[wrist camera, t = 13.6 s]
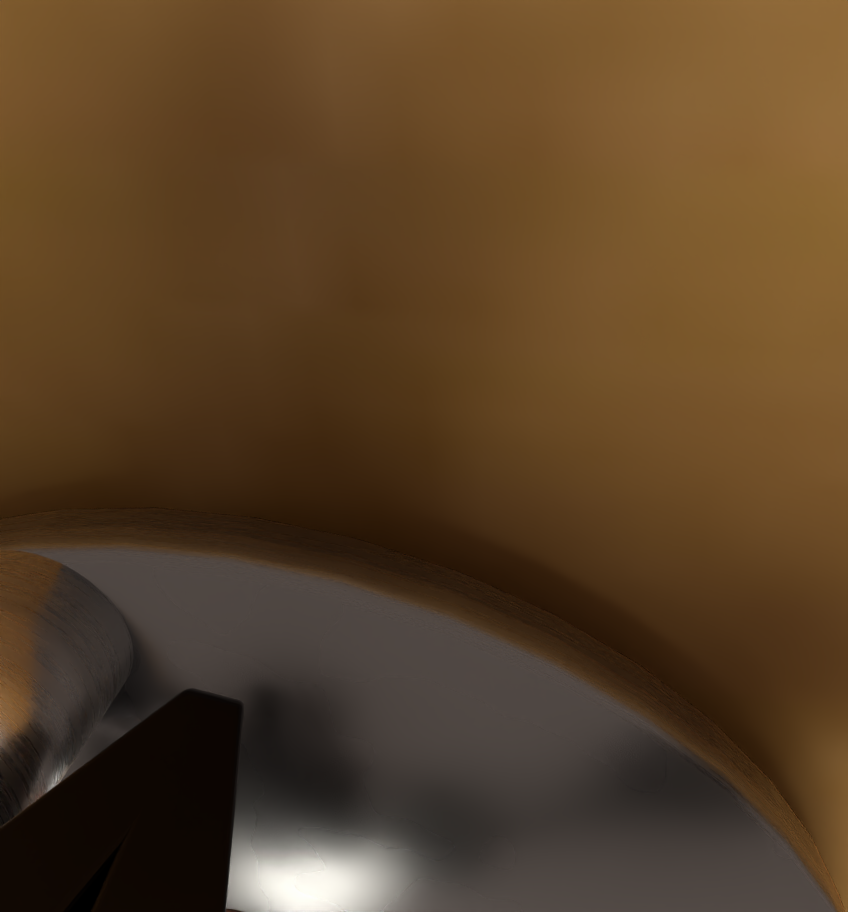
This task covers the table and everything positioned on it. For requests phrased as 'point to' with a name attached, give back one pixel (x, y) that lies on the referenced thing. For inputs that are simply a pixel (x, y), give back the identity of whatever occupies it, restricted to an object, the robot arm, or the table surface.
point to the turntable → (385, 724)
